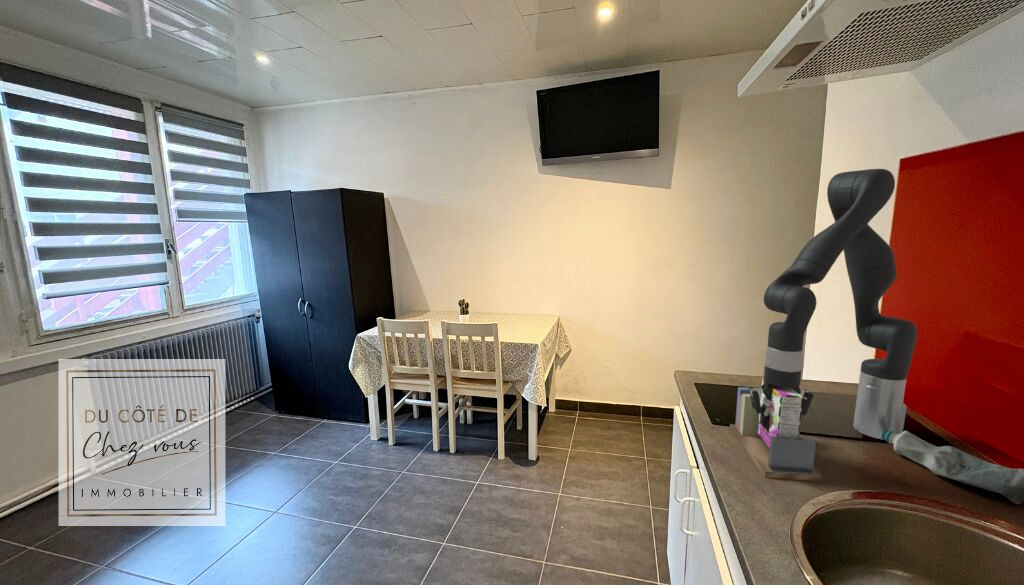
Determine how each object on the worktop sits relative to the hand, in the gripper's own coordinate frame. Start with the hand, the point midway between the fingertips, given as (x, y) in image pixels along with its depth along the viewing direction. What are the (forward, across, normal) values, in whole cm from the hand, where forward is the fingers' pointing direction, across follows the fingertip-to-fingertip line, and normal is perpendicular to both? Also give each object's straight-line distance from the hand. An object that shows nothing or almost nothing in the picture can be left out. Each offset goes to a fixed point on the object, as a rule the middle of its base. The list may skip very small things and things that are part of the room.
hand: (777, 427), depth 98 cm
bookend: (+6, 0, +8) cm, 10 cm away
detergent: (+8, -37, +2) cm, 38 cm away
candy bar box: (+5, 0, 0) cm, 5 cm away
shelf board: (+8, 0, -2) cm, 8 cm away
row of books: (+6, 0, -10) cm, 12 cm away
